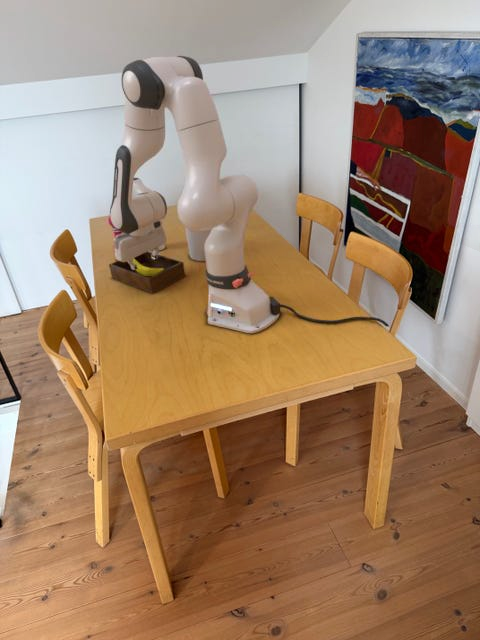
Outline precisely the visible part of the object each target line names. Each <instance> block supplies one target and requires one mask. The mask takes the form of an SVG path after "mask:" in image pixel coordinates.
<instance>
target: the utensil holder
mask: <svg viewBox="0 0 480 640" xmlns="http://www.w3.org/2000/svg"><path fill="white" fill-rule="evenodd" d="M184 229H185V235H186V243H187V249H188V254H189V257H190V259H192V260H194V261H198V262H206V258H205V250H204V245H205V242H206V239H207V238H208V236H209V235H210V233H211V230H212V229H209V230H204V231H198V232H192V231H190V230H188V229H187V228H186V227H184Z"/></svg>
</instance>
